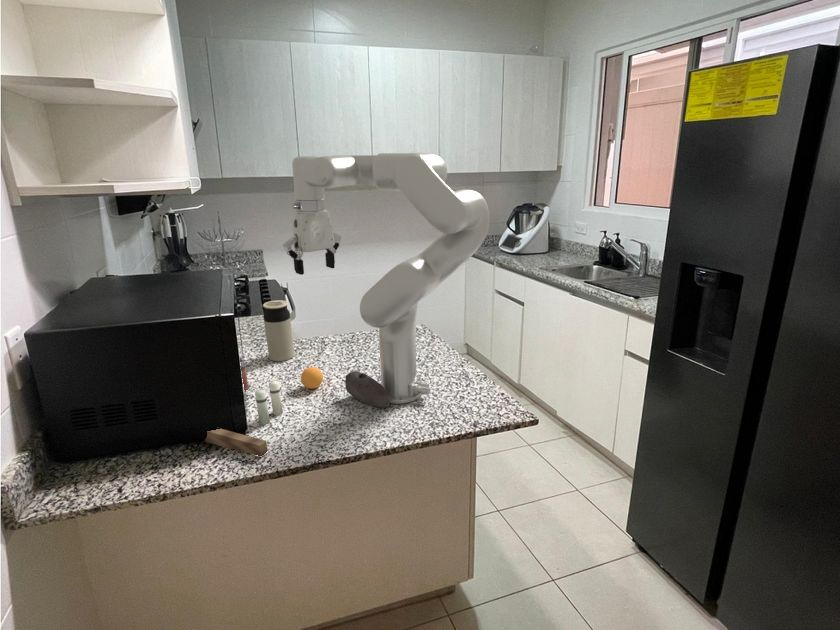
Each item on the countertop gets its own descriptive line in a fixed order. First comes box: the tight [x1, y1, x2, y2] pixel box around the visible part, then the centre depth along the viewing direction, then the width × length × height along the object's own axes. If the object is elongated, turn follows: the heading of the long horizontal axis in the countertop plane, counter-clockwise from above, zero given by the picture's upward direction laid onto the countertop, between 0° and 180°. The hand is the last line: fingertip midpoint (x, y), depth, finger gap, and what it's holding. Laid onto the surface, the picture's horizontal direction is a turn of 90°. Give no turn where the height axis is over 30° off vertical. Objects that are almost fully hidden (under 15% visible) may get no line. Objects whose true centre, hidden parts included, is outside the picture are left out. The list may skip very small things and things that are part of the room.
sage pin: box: [254, 389, 271, 426], centre depth 117 cm, size 2×2×8 cm
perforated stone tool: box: [344, 370, 391, 409], centre depth 126 cm, size 15×5×7 cm, turn 46°
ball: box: [300, 366, 324, 390], centre depth 135 cm, size 6×6×6 cm
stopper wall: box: [204, 428, 269, 456], centre depth 109 cm, size 18×2×3 cm, turn 66°
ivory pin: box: [268, 380, 284, 416], centre depth 122 cm, size 2×2×8 cm
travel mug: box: [262, 299, 295, 362], centre depth 153 cm, size 8×8×18 cm
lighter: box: [239, 356, 250, 392], centre depth 135 cm, size 8×3×10 cm, turn 62°
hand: (315, 270), depth 132 cm, fingers open, 9 cm apart
